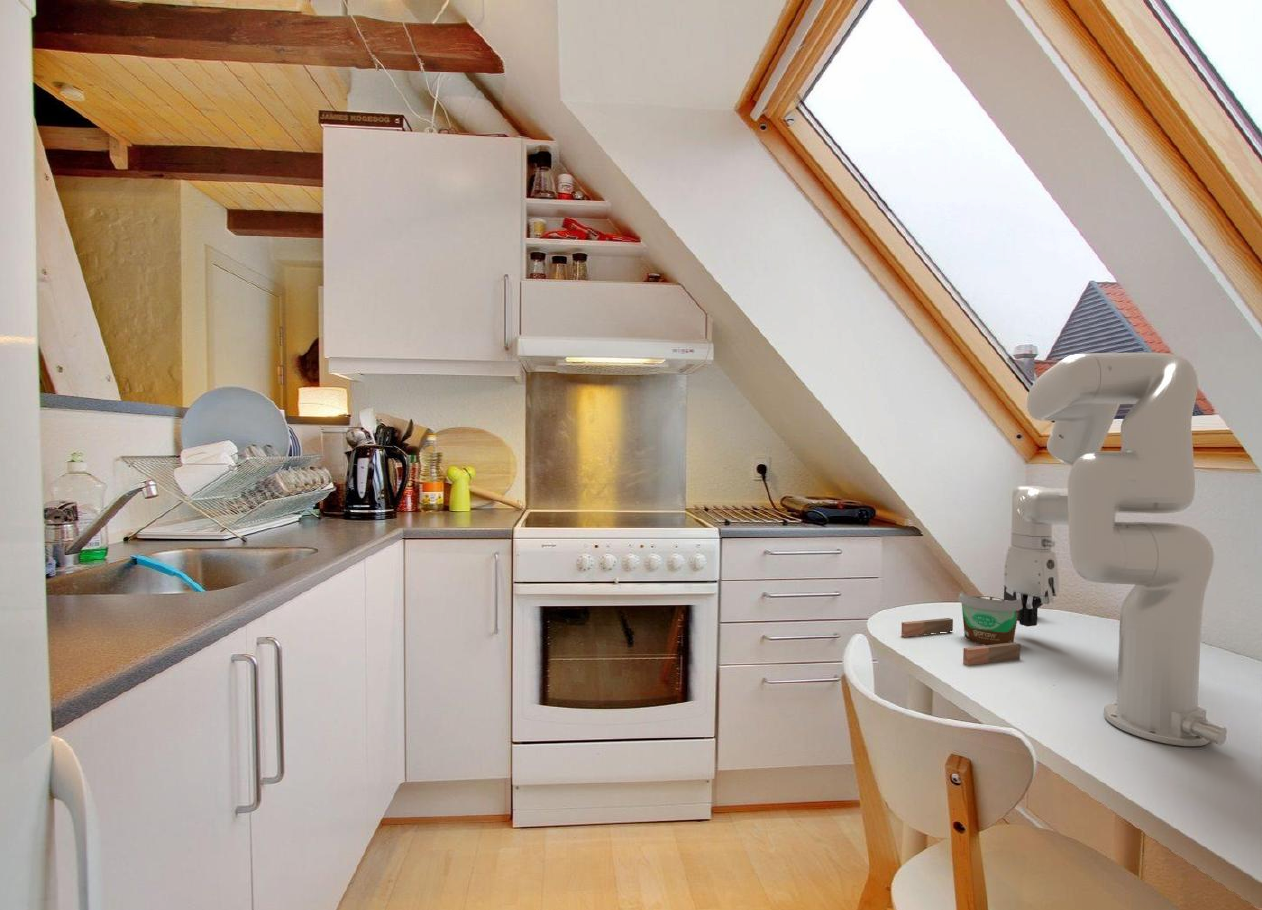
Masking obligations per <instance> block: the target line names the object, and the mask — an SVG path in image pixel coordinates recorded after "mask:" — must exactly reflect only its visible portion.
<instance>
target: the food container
mask: <svg viewBox="0 0 1262 910" xmlns="http://www.w3.org/2000/svg"><path fill="white" fill-rule="evenodd" d="M957 600H958V603H960V604H961V611H962V621H963V623H962V624H963V635H964V638H965V637H966V640H968V641H971V642H972V641H973V643H975V642H976V644H979V645H981V646H985V645H994V644H1003V643H1012V642H1015V636H1016V629H1017V624H1018V621H1017V617H1018V611H1019V610H1021V609H1022V608H1023V606H1022V601H1020V598H1019V599H1018V600H1014V601H1009V600H1004V598H1003V599H1001V598H999V597H994V596H973V595H968V594H966V593H964V592H963V591H962V590H961V591H960V593H959V595H958V598H957Z"/></svg>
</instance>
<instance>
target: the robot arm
mask: <svg viewBox="0 0 1262 910" xmlns="http://www.w3.org/2000/svg"><path fill="white" fill-rule="evenodd" d="M1198 383H1199V381H1198V374H1197V372H1196V370H1195V367H1194V366H1193V364H1192V363H1191V362H1190V361H1189V360H1187V359H1186V358H1185V357H1182V356H1179V355H1177V354H1171V353H1165V352H1117V353H1116V352H1115V353H1111V352H1108V353H1107V352H1106V353H1099V352H1098V353H1096V352H1095V353H1079V354H1072V355H1069V356H1067V357H1064V358H1063V359H1061V360H1059V361H1057V363H1055V364H1054V365H1053V366H1051V367H1050V368H1049V369H1046V371H1045V372H1043V373H1042V374H1041V375H1040V376H1038V378H1037V379H1036V380H1035V381H1034V382H1033V384H1032V386H1031V387H1030V389H1029V392H1028V395H1027V399H1026V408H1027V411H1028V413H1029V415H1030V416H1031V417H1032V419H1034V420H1037V421H1043V422H1046V421H1047V422H1054V423H1053V426H1052V429H1051V431H1050V435H1049V437H1048V439H1047V442H1046V449H1047V451H1048V453H1049V454H1050V456H1052V457H1053V458H1054V459H1056V460H1057V461H1059V462H1061V463H1063V464H1066V465H1068V466H1070V467H1071V469H1070V471H1069V474H1068V479H1067V488H1066V487H1065V488H1064V487H1063V488H1060V487H1059V488H1056V487H1055V488H1054V487H1053V488H1052V487H1050V488H1049V487H1047V486H1042V485H1041V486H1039V485H1018V486H1015V488H1013V491H1012V496H1011V497H1012V498H1011V499H1012V501H1011V529H1010V531H1011V532H1010V545H1008V549H1007V551H1006V557H1005V561H1004V562H1005V563H1004V572H1003V573H1004V574H1003V583H1004V585H1005V586H1006V587H1007V588H1006V592H1007V593H1009V594H1011V595H1013V596H1014V597H1015V599H1016V600H1018V599H1019V598H1020V601H1022V606H1023V608H1022V609H1021V610H1020V619H1019V621H1018V622H1019V625H1021V626H1024V627H1035V626H1036V627H1037V625H1038V609H1040V608H1041V607H1042V606H1043V605H1050V604H1051V605H1053V604H1054V603H1055V601H1054V597H1057V596H1058V595H1059V591H1060V590H1059V589H1060V587H1059V586H1060V580H1059V579H1060V578H1059V567H1058V560H1057V556H1056V551H1055V550H1054V551H1053V550H1052V548H1054V547H1056V542H1055V541H1053V539H1052V538H1053V537H1052V535H1053V526H1054V525H1059V526H1068V541H1069V553H1070V554H1069V555H1070V560H1071V563H1072V566H1073V569H1074V571H1076V573H1077V574H1078V575H1079V576H1080V577H1081V578H1083V579H1084V580H1087V581H1088V582H1092V583H1099V584H1111V585H1112V584H1113V585H1134V586H1133V587H1132V589H1131V590H1130V591H1129V592H1128V593H1127V595H1126V597H1125V598H1124V600H1123V602H1122V604H1121V606H1120V607H1121V608H1120V613H1119V631H1118V633H1119V634H1118V635H1119V636H1118V657H1117V659H1118V661H1117V682H1116V683H1117V684H1116V685H1117V686H1116V687H1117V688H1116V702H1113V703H1109V704H1107V705H1105V706H1104V708H1103V717H1104V718H1105V719H1106V721H1108V722H1109V723H1110V724H1111V725H1113V726H1114V727H1116V728H1118V729H1120V730H1121V731H1124V732H1126V733H1128V734H1131V735H1133V736H1136V737H1139V738H1142V739H1146V740H1149V741H1152V742H1156V743H1161V744H1165V745H1172V746H1180V747H1201V746H1205V745H1207V744H1209V743H1210V742H1212V743H1214V744H1217V745H1219V746H1222V745H1224V744H1225V742H1226V741H1227V732H1228V730H1227V728H1226V727H1225V726H1222V725H1219V724H1217V723H1214V722H1210V721H1209V720H1208V719H1207V709H1205V708H1202V707H1199V706H1198V704H1199V703H1198V702H1199V683H1200V680H1199V679H1200V661H1201V658H1200V657H1201V656H1200V654H1201V636H1202V623H1203V609H1204V601H1205V595H1206V591H1207V588H1208V584H1209V580H1210V577H1211V574H1212V572H1213V571H1212V570H1213V567H1214V562H1215V561H1214V560H1215V553H1214V548H1213V545H1212V543H1211V542H1210V540H1209V539H1208V538H1207V537H1206V535H1204V534H1203V533H1202V532H1201V531H1199V530H1197V529H1195V528H1194V527H1190V526H1189V525H1188V526H1187V525H1184V524H1179V523H1170V522H1157V521H1156V522H1153V521H1116V515H1117V513H1123V514H1155V515H1156V514H1171V513H1172V514H1173V513H1178V512H1179V513H1180V512H1182V511H1184V510H1187V509H1188V508H1189V507H1190V506H1192V503H1193V501H1194V497H1195V491H1196V487H1195V486H1196V482H1195V479H1196V478H1195V477H1196V476H1195V461H1194V448H1193V447H1194V445H1193V444H1194V443H1193V433H1192V432H1193V431H1192V419H1193V414H1194V409H1195V404H1196V400H1197V395H1198V389H1199V387H1198V386H1199V385H1198ZM1121 405H1133V406H1131V408H1130V409H1129V411H1128V412H1127V413H1126V415H1125V416H1124V418H1123V419H1122V421H1121V425H1120V440H1121V442H1120V443H1121V445H1120V446H1121V447H1120V451H1107V450H1106V451H1101V450H1102V447H1103V445H1104V444H1105V441H1106V438H1107V436H1108V434H1109V431H1110V429H1111V427H1112V424H1113V422H1114V420H1115V417H1116V416H1117V414H1118V410H1119V408H1120V406H1121Z"/></svg>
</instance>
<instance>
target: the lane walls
mask: <svg viewBox="0 0 1262 910" xmlns="http://www.w3.org/2000/svg"><path fill="white" fill-rule="evenodd" d="M953 627H954V619H953V618H951V617H945V618H934V619H925V620H923V619H922V620H914V621H913V620H911V621H902V622H901V631H900V632H901V633H900V634H901V635H903V636H904V637H903V636H902V637H903V638H910V637H909V636H914V637H917V636H916V635H923V636H925V635H924V634H931V633H940V632H950V631H953ZM953 632H954V631H953ZM962 650H963V652H962V658H963V659H962V664H964V665H966V666H973V665H980V664H981V665H982V664H988V663H997V662H1004V661H1012V660H1020V655H1021V644H1020V643H1018V642H1015V641H1014V642H1012V643H1003V644H994V645H977V646H969V647H968V646H967V647H963V648H962Z"/></svg>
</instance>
